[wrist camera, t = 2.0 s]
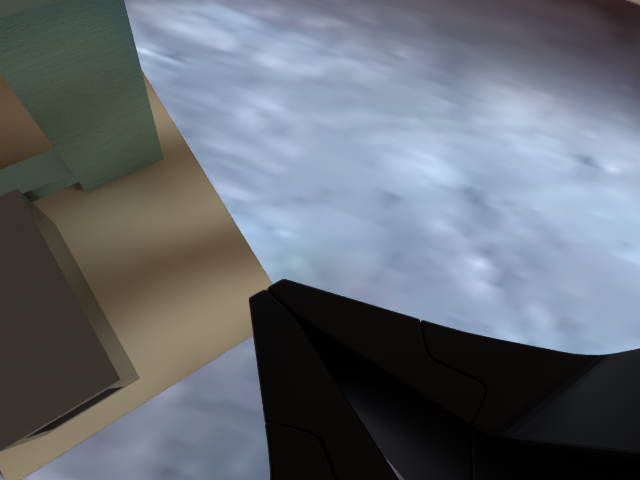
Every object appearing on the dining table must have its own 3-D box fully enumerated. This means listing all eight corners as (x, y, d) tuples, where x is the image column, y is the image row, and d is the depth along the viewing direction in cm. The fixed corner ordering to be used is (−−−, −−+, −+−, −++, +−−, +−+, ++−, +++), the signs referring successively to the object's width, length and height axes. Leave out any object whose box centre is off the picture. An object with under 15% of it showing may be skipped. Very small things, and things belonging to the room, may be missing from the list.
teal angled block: (243, 291, 22) (266, 218, 12) (52, 402, 19) (-147, 436, 9) (117, 81, 24) (39, -145, 13) (-76, 152, 21) (-373, -71, 10)
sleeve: (140, 378, 20) (120, 379, 16) (45, 435, 19) (-2, 452, 15) (55, 223, 21) (17, 188, 17) (-41, 267, 20) (-106, 240, 16)
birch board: (287, 313, 23) (289, 311, 22) (16, 482, 19) (8, 486, 18) (86, -15, 26) (82, -26, 25) (-189, 64, 22) (-203, 53, 21)
